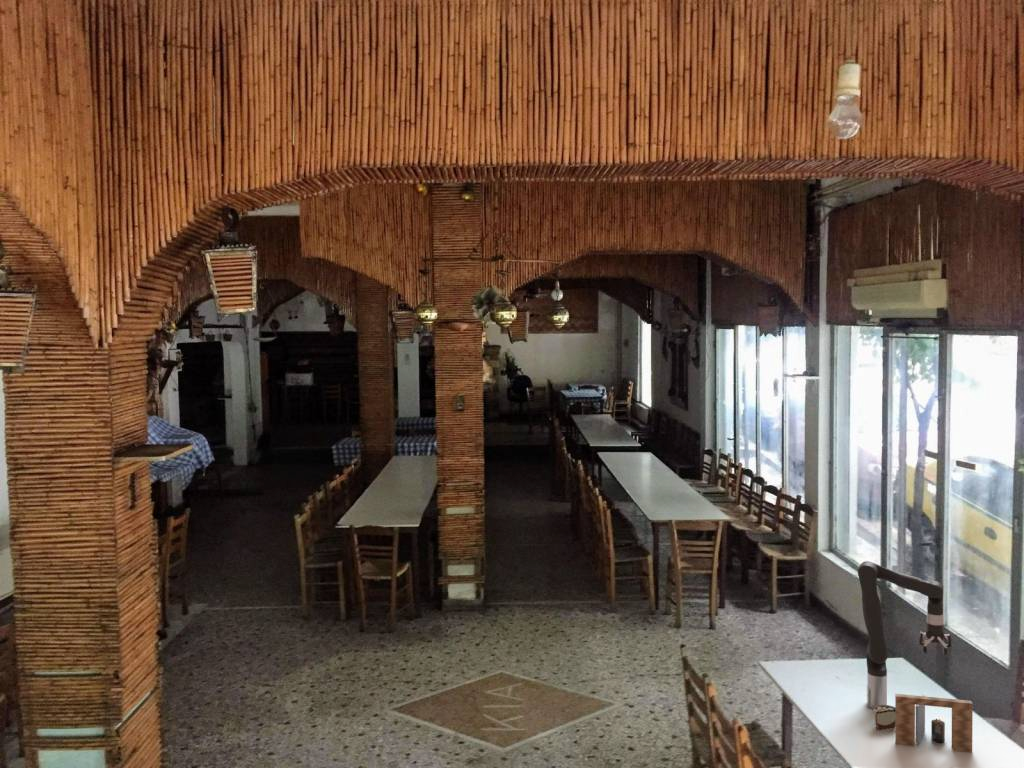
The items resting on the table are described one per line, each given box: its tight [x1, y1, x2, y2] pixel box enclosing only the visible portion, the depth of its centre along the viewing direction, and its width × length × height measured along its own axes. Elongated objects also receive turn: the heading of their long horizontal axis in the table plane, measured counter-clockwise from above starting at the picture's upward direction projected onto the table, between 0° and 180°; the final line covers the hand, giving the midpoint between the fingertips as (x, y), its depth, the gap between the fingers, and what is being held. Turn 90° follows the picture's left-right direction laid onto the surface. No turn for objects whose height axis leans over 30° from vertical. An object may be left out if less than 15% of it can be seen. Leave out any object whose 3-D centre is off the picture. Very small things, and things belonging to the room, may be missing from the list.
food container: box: [872, 704, 895, 732], centre depth 415 cm, size 12×6×10 cm, turn 102°
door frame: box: [894, 693, 974, 753], centre depth 394 cm, size 32×3×23 cm, turn 73°
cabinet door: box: [915, 694, 926, 745], centre depth 402 cm, size 14×3×18 cm, turn 143°
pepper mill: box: [930, 717, 946, 745], centre depth 400 cm, size 6×6×11 cm
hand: (934, 653), depth 423 cm, fingers open, 8 cm apart
